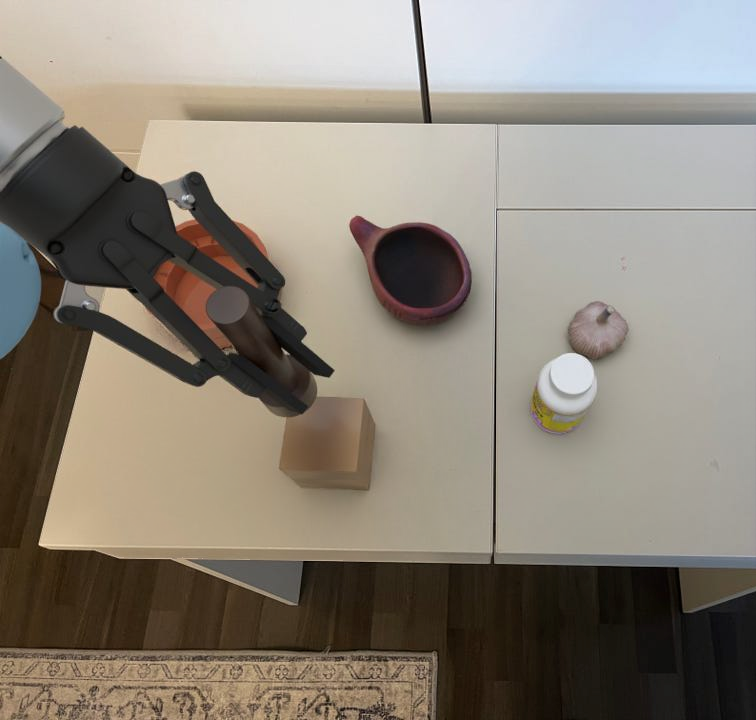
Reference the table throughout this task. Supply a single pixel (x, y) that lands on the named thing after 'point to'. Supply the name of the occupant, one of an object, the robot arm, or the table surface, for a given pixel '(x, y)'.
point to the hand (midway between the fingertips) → (311, 389)
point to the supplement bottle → (563, 393)
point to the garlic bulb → (597, 330)
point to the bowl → (414, 269)
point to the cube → (330, 445)
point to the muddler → (259, 346)
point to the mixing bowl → (192, 289)
